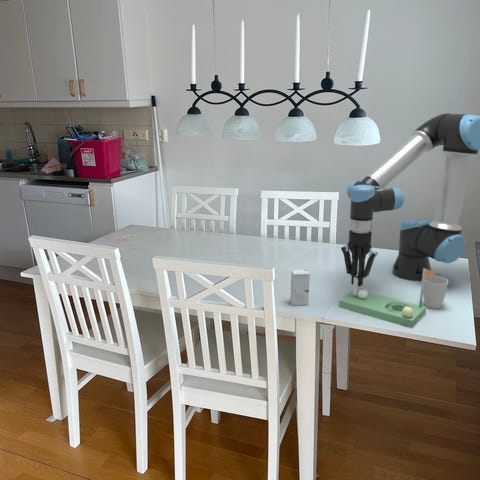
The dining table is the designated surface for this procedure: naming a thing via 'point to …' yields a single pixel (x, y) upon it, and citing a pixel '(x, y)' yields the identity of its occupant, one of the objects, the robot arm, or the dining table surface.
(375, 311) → the green
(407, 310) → the yellow ball
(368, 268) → the robot arm
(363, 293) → the ball
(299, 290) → the skincare box
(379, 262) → the dining table surface
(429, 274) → the flag
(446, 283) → the cup
